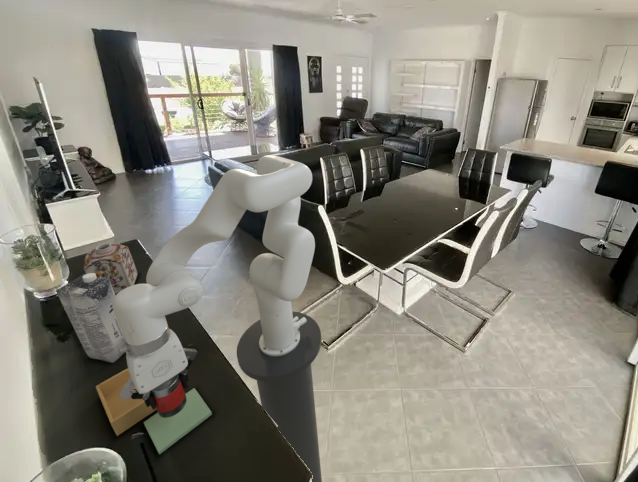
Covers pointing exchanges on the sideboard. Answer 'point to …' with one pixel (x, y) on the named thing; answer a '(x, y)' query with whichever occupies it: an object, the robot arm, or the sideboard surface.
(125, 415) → the open wooden box
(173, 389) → the can
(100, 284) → the juice carton
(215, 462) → the sideboard surface
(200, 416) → the mat
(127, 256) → the decorative jar
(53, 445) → the sideboard surface
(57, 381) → the sideboard surface
